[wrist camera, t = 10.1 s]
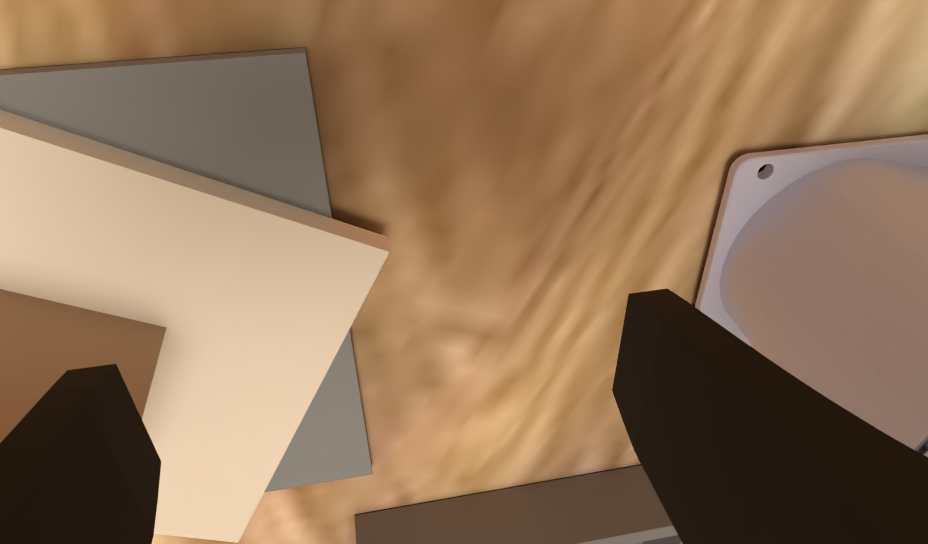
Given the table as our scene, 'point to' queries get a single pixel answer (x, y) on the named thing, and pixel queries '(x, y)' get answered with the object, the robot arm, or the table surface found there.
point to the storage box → (533, 515)
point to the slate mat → (219, 178)
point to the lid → (173, 309)
